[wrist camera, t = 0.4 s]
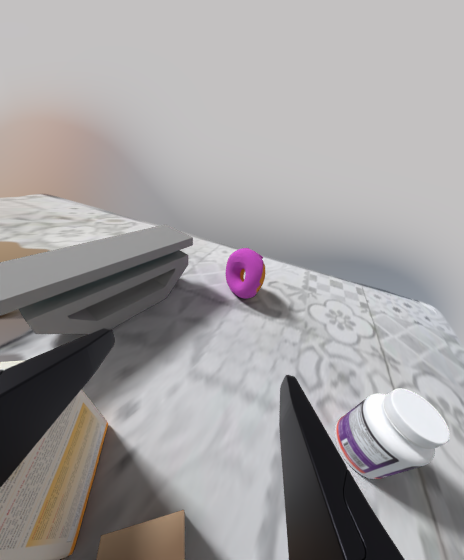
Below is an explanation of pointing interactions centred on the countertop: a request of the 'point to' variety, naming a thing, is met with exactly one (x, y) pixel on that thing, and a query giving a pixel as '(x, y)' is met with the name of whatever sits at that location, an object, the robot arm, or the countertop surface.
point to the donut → (254, 271)
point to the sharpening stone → (94, 281)
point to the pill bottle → (390, 434)
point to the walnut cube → (146, 540)
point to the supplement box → (52, 485)
